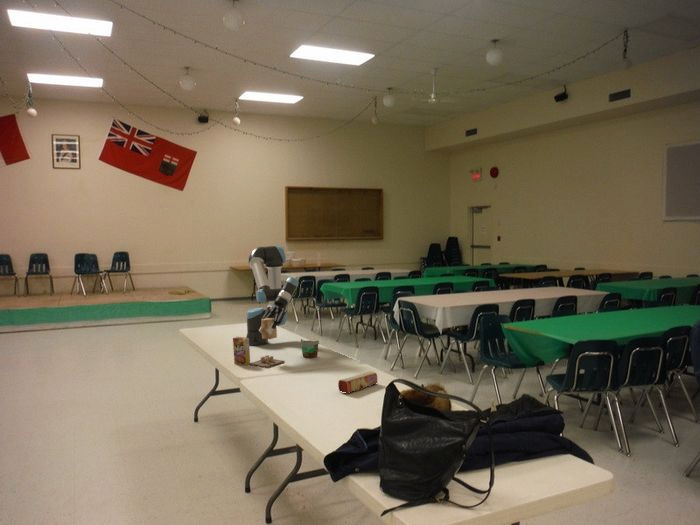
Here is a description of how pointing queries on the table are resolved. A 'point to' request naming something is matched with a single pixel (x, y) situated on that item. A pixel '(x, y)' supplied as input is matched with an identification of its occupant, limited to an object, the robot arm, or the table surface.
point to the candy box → (241, 350)
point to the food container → (309, 348)
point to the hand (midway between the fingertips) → (264, 332)
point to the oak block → (266, 325)
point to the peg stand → (267, 362)
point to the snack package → (357, 382)
